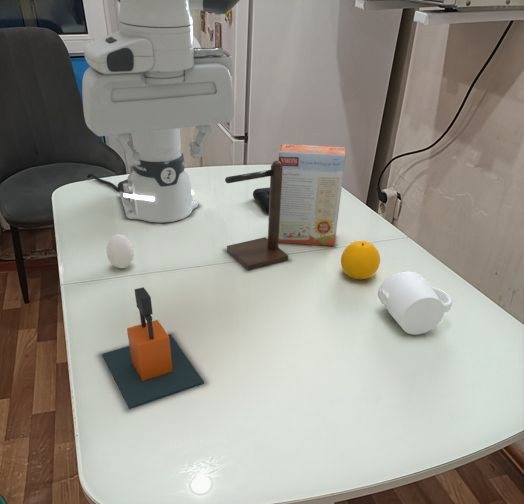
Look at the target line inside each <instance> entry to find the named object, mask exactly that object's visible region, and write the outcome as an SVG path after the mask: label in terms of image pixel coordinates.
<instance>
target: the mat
mask: <svg viewBox="0 0 524 504" xmlns="http://www.w3.org/2000/svg"><path fill="white" fill-rule="evenodd" d="M168 336H169V340H170V350H171V360H172V370H173V371H172V372H169V373H166V374H163V375H160V376H157V377H154V378H151V379H148V380H145V381H142V379H141V377H140V376H139V374H138V372H137V370H136V369H135V367H134V365H133V363H132V358H131V352H130V346H128V345H127V346H124V347H121V348H117V349H114V350H111V351H107V352H103V353H101V355H102V358H103V360H104V362H105V363H106V365H107V367H108V370H109V371H110V374H111V376H112V377H113V380H114V381H115V383H116V386H117V387H118V389H119V391H120V393H121V395H122V397H123V399H124V401H125V403H126V405H127V406H128V408H129V409H133V408H135V407H139V406H141V405H145V404H148V403H151V402H153V401H157V400H159V399H162V398H165V397H168V396H171V395H174V394H177V393H180V392H183V391H186V390H188V389H191V388H195V387H197V386H200V385H203V384H205V381H204V379H203V378H202V376H201V375H200V373H199V372H198V371H197V370H196V368H195V366H194V365H193V364H192V362H191V361H190V359H189V358H188V357H187V355H186V354H185V352H184V351H183V349H182V348H181V347H180V345H179V344H178V342H177V341H176V340H175V338H174V337H173V335H172V334H171V333H169V334H168Z"/></svg>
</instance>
